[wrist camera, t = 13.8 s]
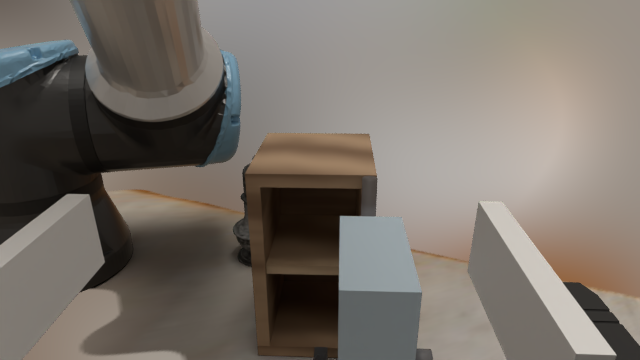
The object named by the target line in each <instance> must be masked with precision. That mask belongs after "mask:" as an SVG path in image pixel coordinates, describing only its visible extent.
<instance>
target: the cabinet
mask: <svg viewBox="0 0 640 360" xmlns="http://www.w3.org/2000/svg"><path fill="white" fill-rule="evenodd" d="M245 182H246V195H247V209H248V222H249V236H250V249H251V263H252V276H253V289H254V303H255V316H256V330H257V343H258V355H268V356H298V357H314V348H315V347H328V358H338V311H339V242H340V216H371V217H376V196H377V195H376V194H377V174H376V169H375V163H374V158H373V152H372V147H371V141H370V136H369V134H320V133H318V134H317V133H314V134H313V133H312V134H311V133H268V134H267V136H266V138H265V139H264V141H263V143H262V145H261V146H260V148H259V150H258V152H257V153H256V155H255V157H254V159H253V160H252V162H251V164H250V166H249V167H248V169H247V171H246V173H245Z"/></svg>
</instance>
